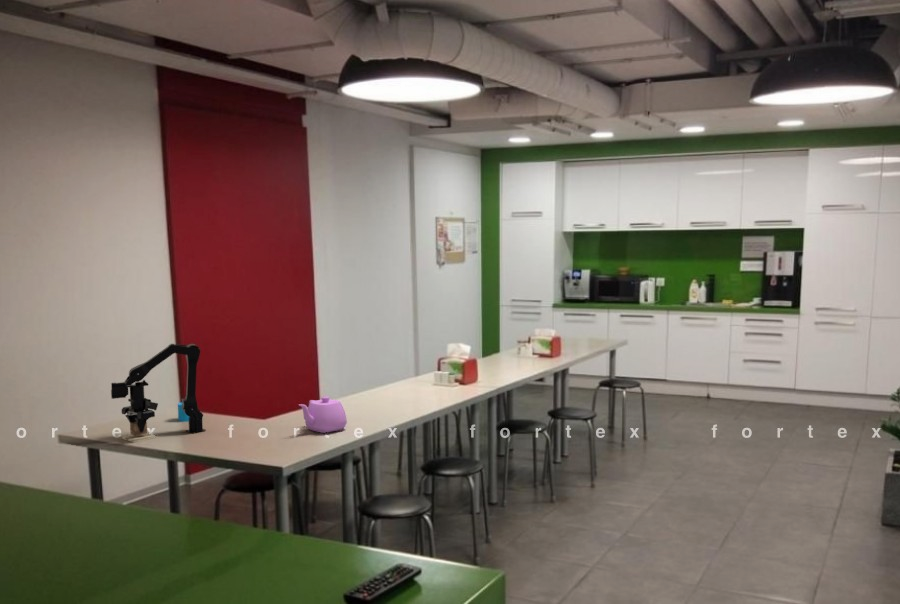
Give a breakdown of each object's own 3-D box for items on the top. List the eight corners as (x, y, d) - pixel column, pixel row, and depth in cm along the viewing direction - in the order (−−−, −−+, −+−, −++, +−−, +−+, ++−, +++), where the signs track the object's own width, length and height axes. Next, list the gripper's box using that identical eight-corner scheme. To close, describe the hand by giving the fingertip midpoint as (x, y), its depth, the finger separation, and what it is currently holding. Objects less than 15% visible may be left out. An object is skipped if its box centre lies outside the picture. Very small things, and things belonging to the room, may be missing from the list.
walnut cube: (147, 433, 314) (146, 422, 314) (136, 435, 310) (135, 424, 310) (141, 431, 317) (141, 420, 317) (130, 434, 314) (130, 422, 313)
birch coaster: (155, 437, 315) (155, 435, 315) (133, 442, 307) (133, 440, 307) (144, 434, 321) (144, 432, 321) (122, 438, 313) (122, 437, 313)
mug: (189, 422, 344) (189, 405, 344) (174, 421, 346) (174, 404, 345) (204, 416, 356) (203, 400, 355) (189, 416, 358) (188, 399, 357)
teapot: (325, 422, 339) (324, 390, 338) (352, 429, 324) (351, 396, 323) (283, 431, 323) (282, 398, 322) (310, 439, 308) (309, 404, 307)
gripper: (165, 395, 313) (167, 430, 314) (144, 391, 325) (146, 425, 326) (140, 400, 304) (142, 436, 305) (120, 395, 316) (121, 429, 317)
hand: (138, 431), depth 314 cm, fingers closed on walnut cube, 5 cm apart
